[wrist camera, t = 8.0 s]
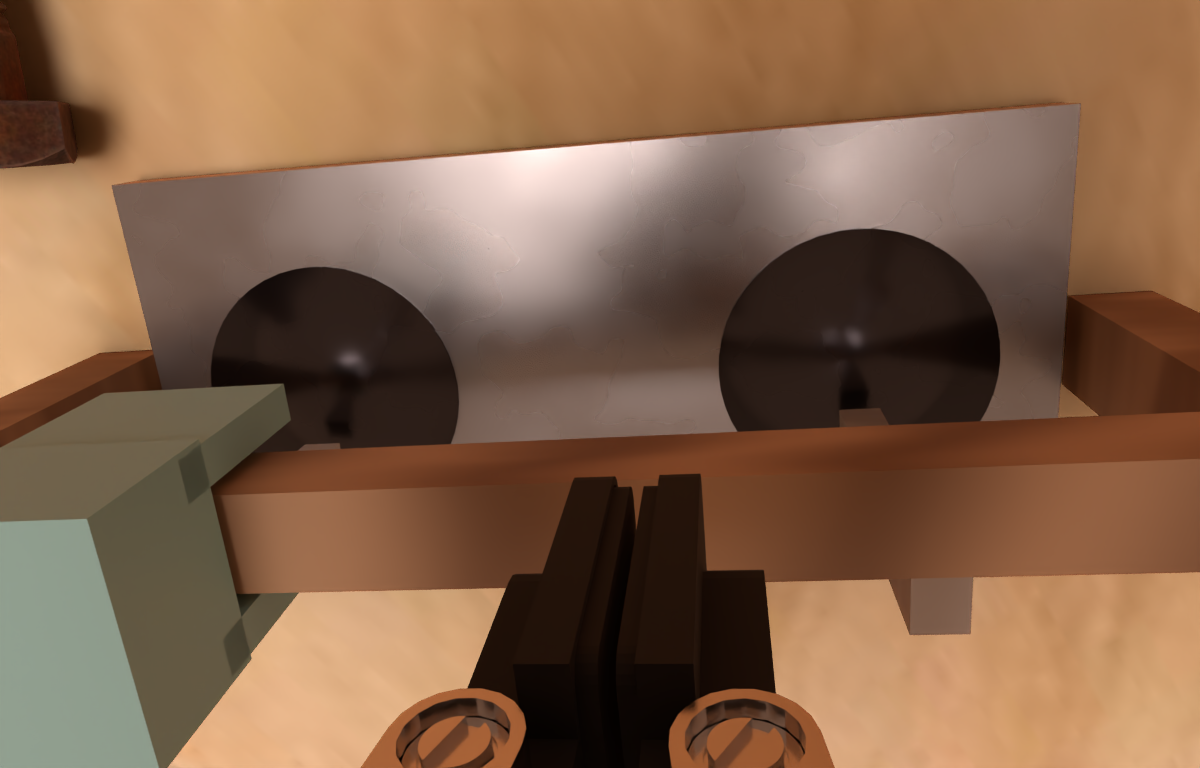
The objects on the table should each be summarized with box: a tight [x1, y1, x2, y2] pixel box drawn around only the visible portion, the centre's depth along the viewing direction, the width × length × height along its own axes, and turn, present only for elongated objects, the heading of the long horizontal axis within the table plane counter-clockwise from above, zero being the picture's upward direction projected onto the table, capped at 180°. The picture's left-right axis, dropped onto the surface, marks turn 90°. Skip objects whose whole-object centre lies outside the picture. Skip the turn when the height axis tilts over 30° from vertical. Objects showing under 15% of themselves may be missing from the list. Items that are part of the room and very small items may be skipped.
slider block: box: [0, 384, 340, 768], centre depth 19 cm, size 4×4×12 cm
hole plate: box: [112, 102, 1081, 453], centre depth 25 cm, size 24×12×1 cm, turn 95°
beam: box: [0, 291, 1200, 635], centre depth 21 cm, size 29×3×10 cm, turn 95°
